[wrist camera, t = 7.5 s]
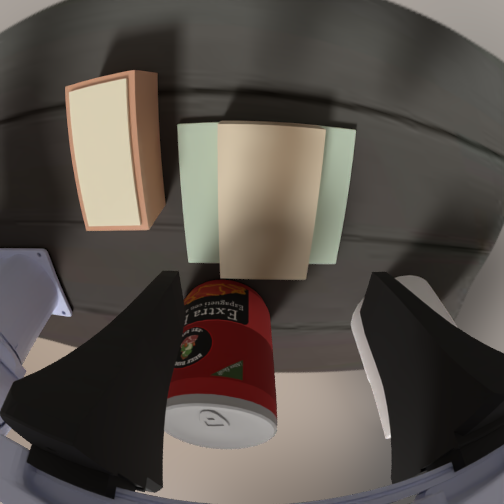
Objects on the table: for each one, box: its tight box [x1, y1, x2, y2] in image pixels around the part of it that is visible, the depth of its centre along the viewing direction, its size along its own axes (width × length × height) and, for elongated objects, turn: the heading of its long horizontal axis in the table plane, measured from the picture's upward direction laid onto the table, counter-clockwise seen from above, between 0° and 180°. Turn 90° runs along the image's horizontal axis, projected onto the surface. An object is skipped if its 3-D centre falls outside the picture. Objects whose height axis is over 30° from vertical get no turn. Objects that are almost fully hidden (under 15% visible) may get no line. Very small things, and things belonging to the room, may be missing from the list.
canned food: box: [164, 280, 277, 449], centre depth 20 cm, size 8×8×11 cm
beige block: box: [217, 121, 326, 280], centre depth 17 cm, size 6×10×2 cm, turn 178°
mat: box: [177, 122, 356, 264], centre depth 18 cm, size 11×10×1 cm
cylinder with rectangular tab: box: [351, 275, 458, 439], centre depth 20 cm, size 9×9×12 cm
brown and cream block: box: [65, 70, 166, 231], centre depth 15 cm, size 4×9×4 cm, turn 179°
